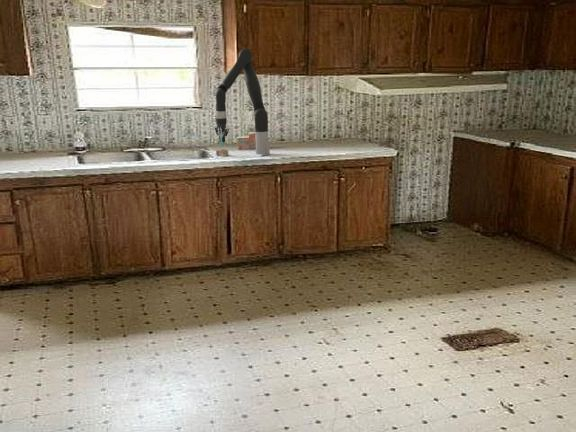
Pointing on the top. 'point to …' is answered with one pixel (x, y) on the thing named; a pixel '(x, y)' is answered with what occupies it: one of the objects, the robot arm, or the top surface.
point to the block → (223, 152)
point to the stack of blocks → (247, 141)
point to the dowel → (221, 140)
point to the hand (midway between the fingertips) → (222, 141)
